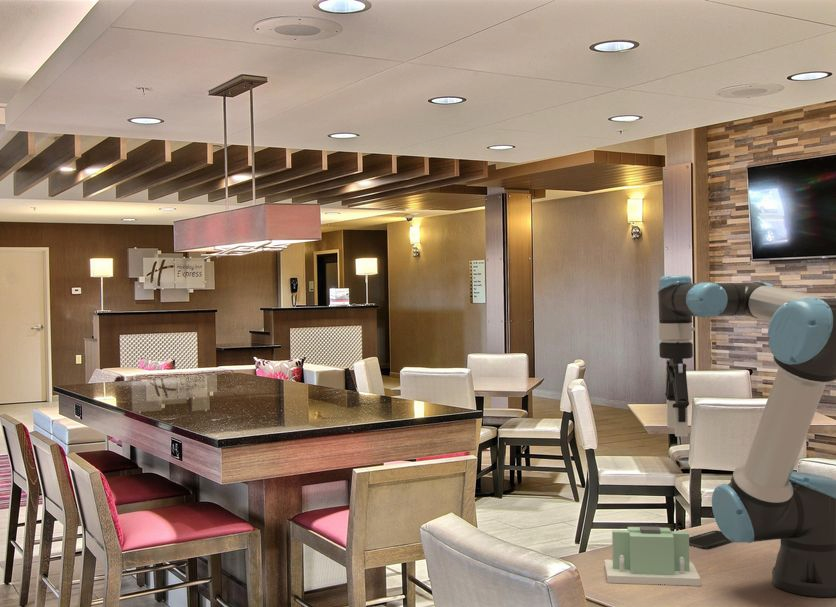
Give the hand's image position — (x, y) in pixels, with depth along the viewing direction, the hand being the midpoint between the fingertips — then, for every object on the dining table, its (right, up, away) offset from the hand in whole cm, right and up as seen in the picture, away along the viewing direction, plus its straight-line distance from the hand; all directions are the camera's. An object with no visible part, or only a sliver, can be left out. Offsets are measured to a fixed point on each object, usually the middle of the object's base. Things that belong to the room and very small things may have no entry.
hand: (677, 432), depth 208 cm
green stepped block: (-10, -27, -16) cm, 33 cm away
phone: (+12, -29, +11) cm, 33 cm away
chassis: (-10, -29, -16) cm, 34 cm away
